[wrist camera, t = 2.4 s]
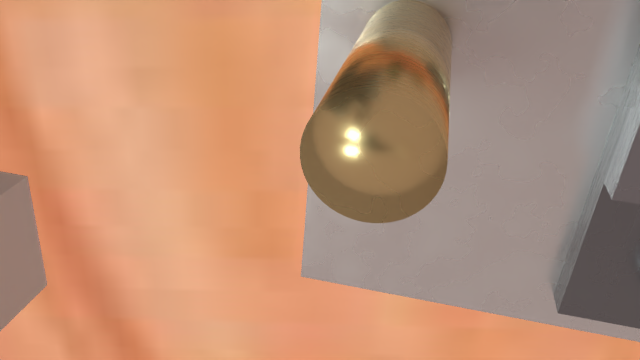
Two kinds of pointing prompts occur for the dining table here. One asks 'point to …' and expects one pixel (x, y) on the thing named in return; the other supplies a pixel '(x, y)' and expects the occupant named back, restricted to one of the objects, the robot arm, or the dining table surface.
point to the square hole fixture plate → (511, 169)
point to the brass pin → (384, 119)
